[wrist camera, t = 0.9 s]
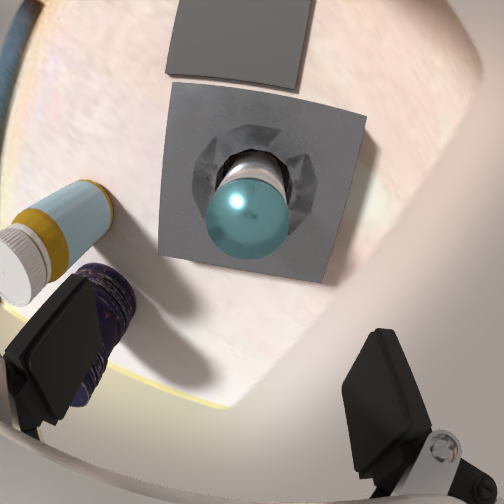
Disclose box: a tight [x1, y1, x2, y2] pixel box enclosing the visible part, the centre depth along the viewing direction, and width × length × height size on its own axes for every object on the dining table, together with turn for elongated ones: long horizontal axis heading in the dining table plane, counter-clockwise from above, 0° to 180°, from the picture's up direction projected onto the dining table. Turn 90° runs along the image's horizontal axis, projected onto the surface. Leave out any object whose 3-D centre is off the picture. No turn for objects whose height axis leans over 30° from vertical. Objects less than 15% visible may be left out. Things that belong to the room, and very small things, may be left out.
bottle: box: [0, 180, 113, 307], centre depth 24 cm, size 7×7×15 cm
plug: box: [206, 151, 289, 259], centre depth 24 cm, size 5×5×12 cm
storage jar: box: [70, 263, 137, 407], centre depth 30 cm, size 10×10×15 cm
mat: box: [165, 0, 311, 89], centre depth 22 cm, size 12×12×1 cm
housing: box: [158, 82, 367, 283], centre depth 27 cm, size 16×16×4 cm
